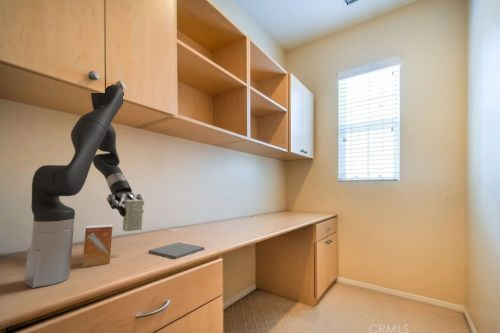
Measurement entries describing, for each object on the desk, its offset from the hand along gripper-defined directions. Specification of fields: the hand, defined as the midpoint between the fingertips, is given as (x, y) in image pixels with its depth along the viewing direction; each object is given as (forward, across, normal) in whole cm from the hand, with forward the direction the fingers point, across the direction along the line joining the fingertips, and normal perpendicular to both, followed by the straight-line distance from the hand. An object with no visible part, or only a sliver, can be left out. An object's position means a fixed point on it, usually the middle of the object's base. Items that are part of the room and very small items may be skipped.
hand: (133, 214), depth 94 cm
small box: (+11, -13, +11) cm, 21 cm away
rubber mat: (+20, +13, +2) cm, 24 cm away
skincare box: (+5, 0, +5) cm, 6 cm away
